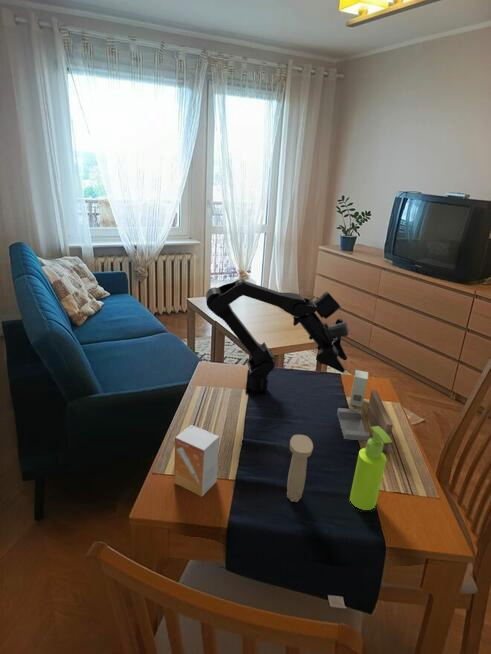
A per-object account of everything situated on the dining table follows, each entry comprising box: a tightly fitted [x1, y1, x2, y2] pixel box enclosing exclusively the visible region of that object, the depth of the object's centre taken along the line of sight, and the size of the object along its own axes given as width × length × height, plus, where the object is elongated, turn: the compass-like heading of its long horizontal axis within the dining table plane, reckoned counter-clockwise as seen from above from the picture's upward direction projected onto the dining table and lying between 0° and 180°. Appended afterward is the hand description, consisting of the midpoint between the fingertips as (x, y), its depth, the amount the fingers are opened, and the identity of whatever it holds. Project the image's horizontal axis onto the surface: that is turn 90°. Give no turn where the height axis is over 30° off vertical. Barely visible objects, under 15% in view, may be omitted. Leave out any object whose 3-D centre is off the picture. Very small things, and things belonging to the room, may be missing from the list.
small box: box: [173, 424, 220, 498], centre depth 101 cm, size 8×6×13 cm
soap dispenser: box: [349, 426, 393, 510], centre depth 97 cm, size 6×7×20 cm
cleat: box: [336, 407, 371, 443], centre depth 129 cm, size 7×14×2 cm, turn 178°
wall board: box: [366, 389, 394, 454], centre depth 126 cm, size 3×18×9 cm, turn 178°
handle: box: [286, 434, 314, 503], centre depth 98 cm, size 5×6×15 cm
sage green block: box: [349, 369, 369, 408], centre depth 141 cm, size 4×6×10 cm
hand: (345, 365), depth 140 cm, fingers open, 9 cm apart
